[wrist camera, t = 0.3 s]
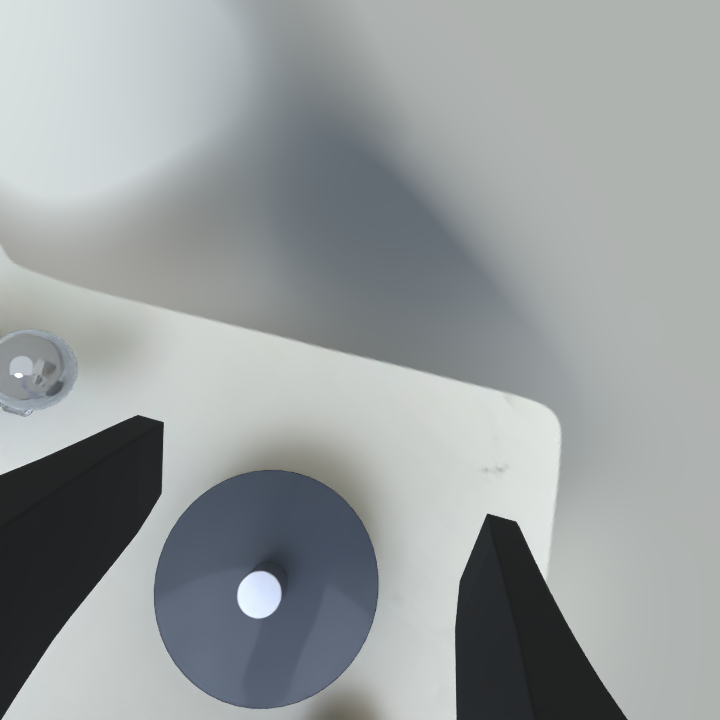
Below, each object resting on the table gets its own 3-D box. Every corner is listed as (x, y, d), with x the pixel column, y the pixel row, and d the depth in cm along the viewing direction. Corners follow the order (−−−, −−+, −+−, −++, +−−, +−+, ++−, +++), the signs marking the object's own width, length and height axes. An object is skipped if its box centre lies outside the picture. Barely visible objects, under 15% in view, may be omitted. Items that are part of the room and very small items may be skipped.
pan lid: (332, 737, 31) (331, 777, 27) (122, 653, 32) (87, 679, 27) (406, 513, 34) (416, 516, 30) (213, 440, 35) (195, 433, 30)
